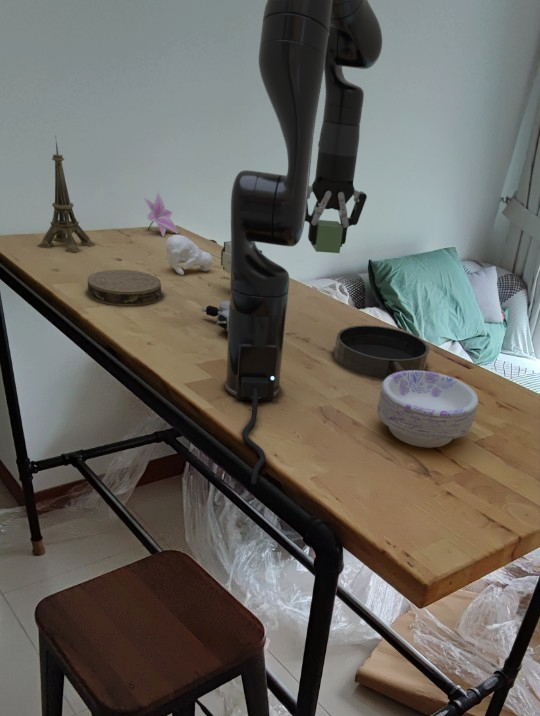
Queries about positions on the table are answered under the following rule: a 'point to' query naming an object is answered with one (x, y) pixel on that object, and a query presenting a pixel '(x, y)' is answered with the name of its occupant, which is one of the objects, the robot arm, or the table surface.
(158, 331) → the table surface
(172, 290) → the table surface
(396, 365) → the pan handle
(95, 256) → the table surface
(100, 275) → the wood log slice
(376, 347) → the pan
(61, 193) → the eiffel tower
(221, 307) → the robot toy
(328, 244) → the cube
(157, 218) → the lily
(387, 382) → the paper bowls
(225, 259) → the pneumatic valve
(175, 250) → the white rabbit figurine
